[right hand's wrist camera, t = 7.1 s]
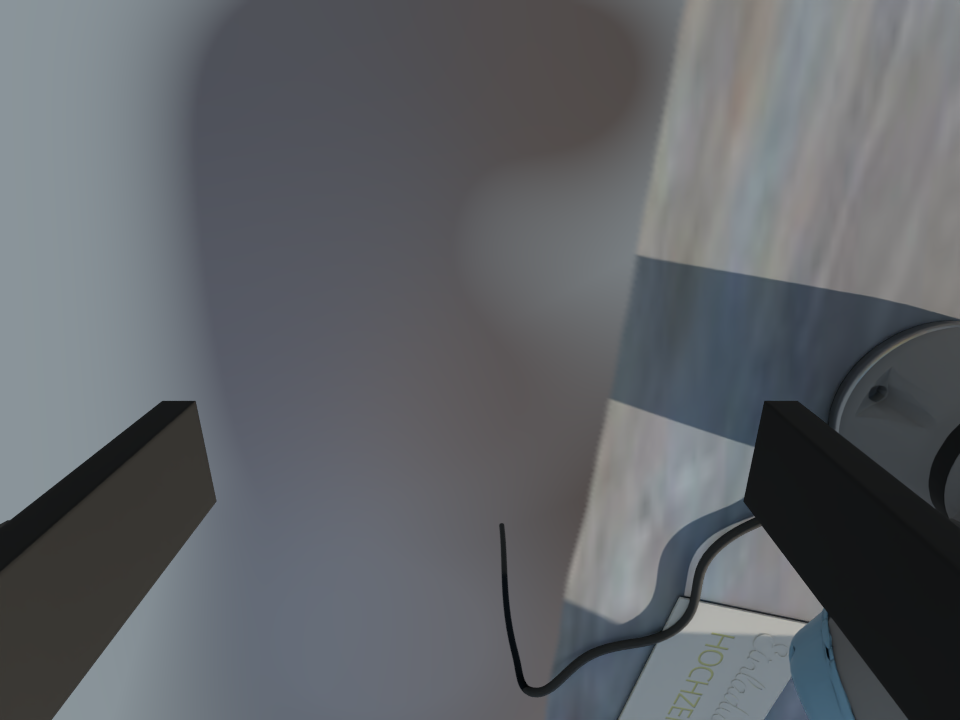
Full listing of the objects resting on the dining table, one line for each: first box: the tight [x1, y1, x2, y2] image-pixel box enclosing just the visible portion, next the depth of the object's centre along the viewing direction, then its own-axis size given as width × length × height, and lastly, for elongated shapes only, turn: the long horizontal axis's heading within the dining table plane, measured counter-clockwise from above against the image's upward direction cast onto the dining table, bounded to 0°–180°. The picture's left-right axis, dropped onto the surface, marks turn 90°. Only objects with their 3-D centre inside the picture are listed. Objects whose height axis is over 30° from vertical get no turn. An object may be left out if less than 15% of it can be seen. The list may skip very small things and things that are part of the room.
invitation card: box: [618, 597, 808, 720], centre depth 56 cm, size 21×1×15 cm
